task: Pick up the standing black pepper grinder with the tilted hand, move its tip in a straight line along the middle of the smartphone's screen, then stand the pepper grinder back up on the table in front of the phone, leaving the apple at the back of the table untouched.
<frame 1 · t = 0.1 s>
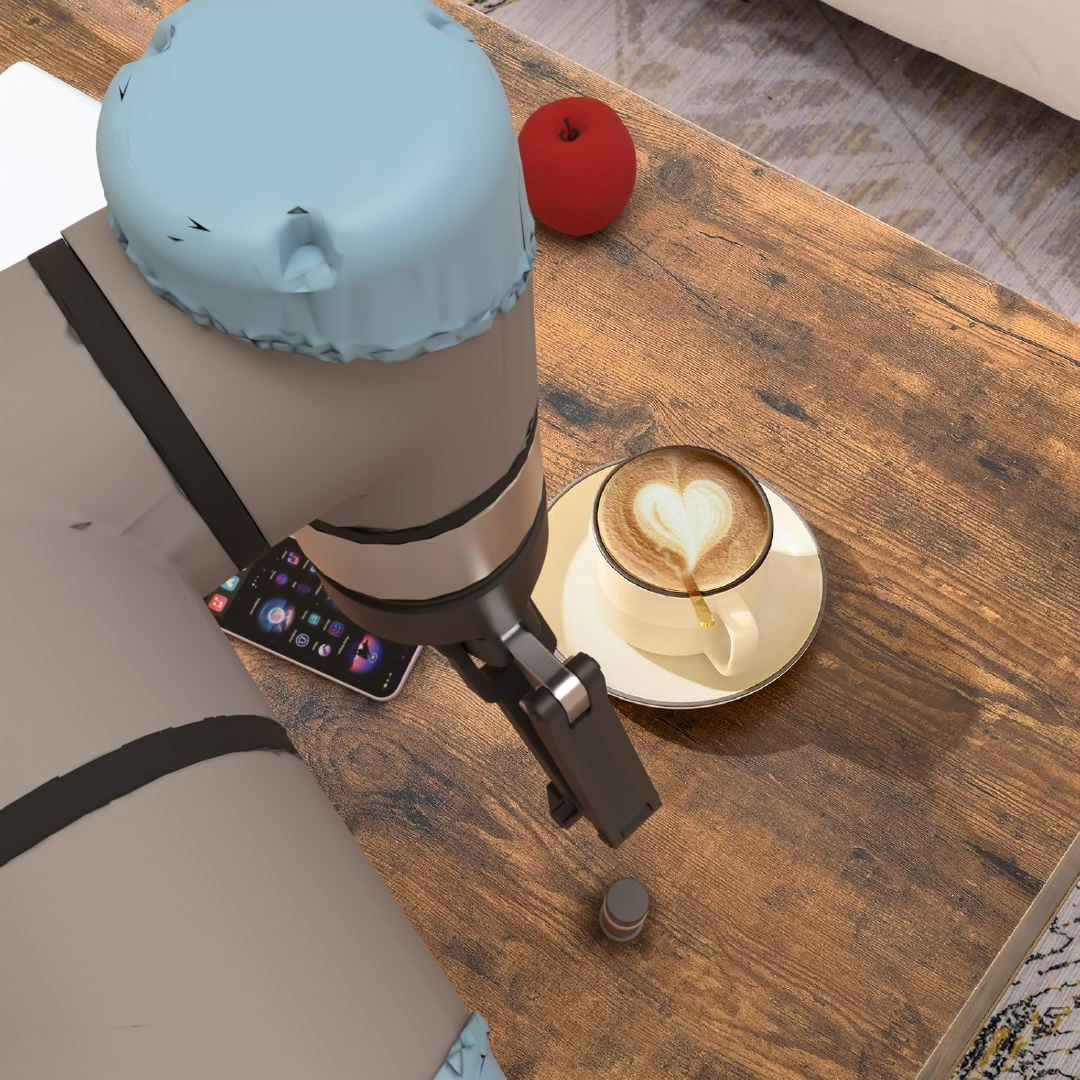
hand: (478, 692, 53), 19 cm above the table, tool pointing down, fingers open, 13 cm apart
apple: (575, 207, 87), on the table
smartphone: (316, 610, 75), on the table
pepper grinder: (621, 918, 67), on the table
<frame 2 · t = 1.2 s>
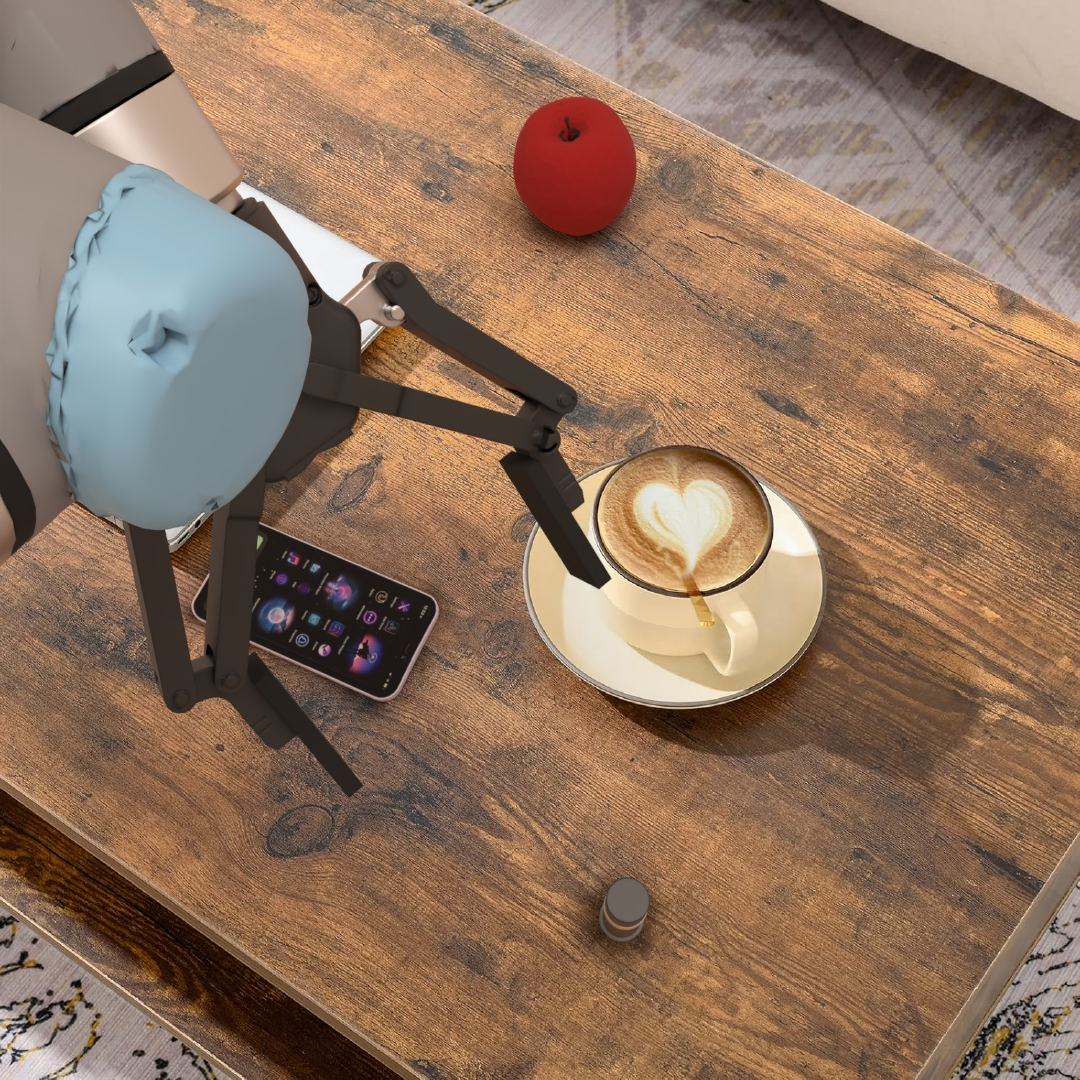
hand: (473, 675, 50), 22 cm above the table, tool tilted 45°, fingers open, 13 cm apart
nothing on the table moved.
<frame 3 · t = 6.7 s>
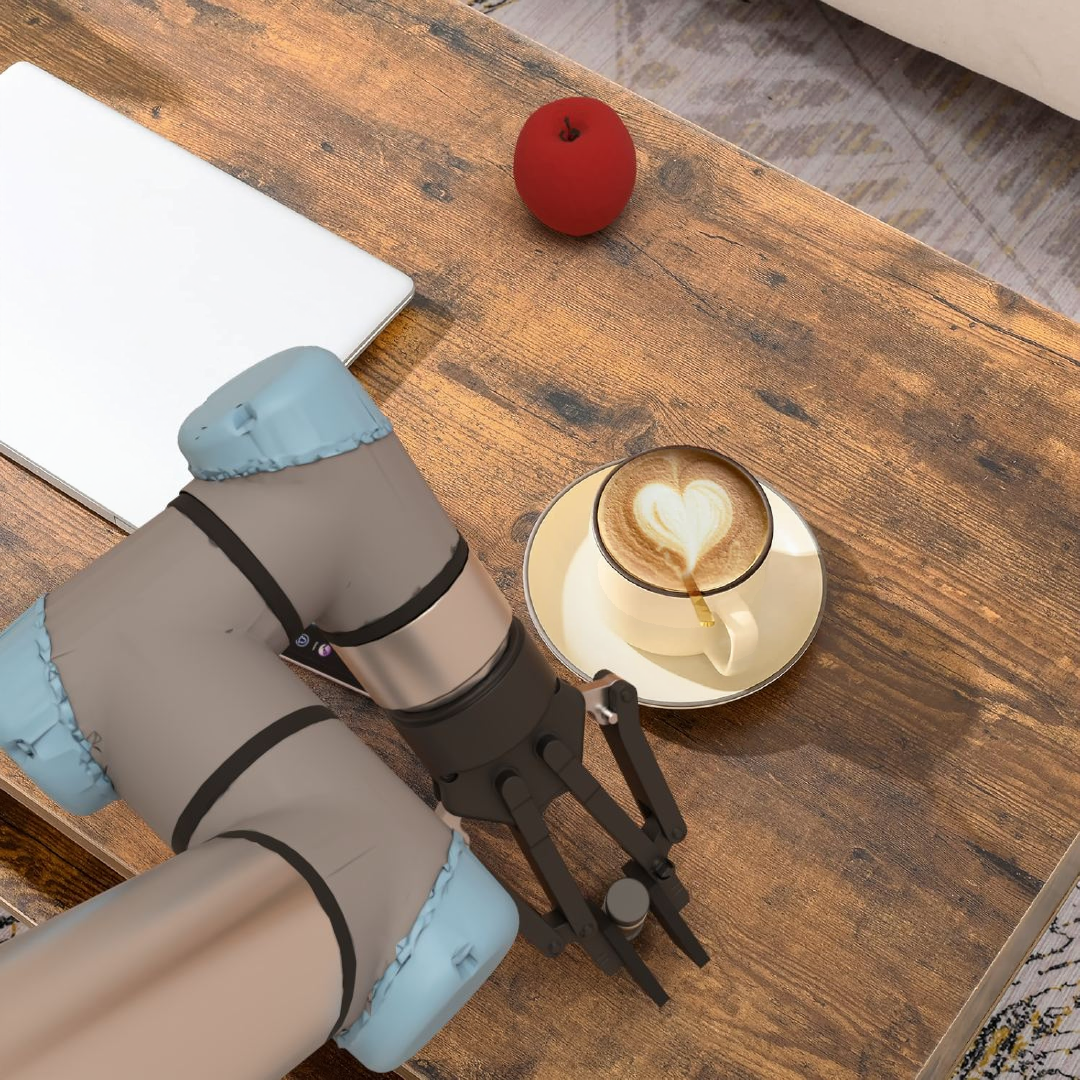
hand: (671, 969, 63), 3 cm above the table, tool tilted 45°, fingers closed on pepper grinder, 2 cm apart
pepper grinder: (621, 918, 67), on the table, touching gripper
everything else where it was.
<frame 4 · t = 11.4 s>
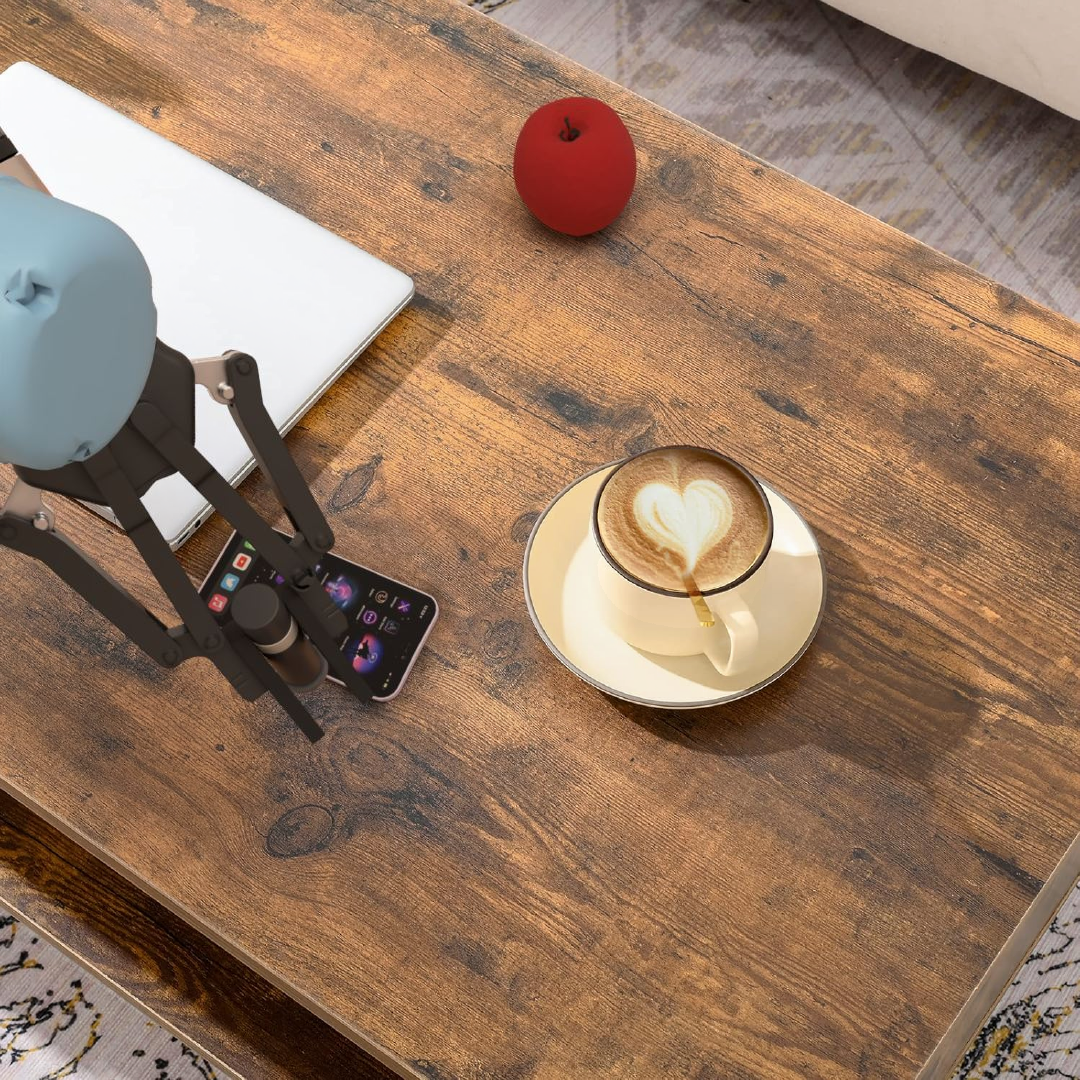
hand: (335, 709, 57), 15 cm above the table, tool tilted 45°, fingers closed on pepper grinder, 2 cm apart
pepper grinder: (303, 669, 61), point 12 cm above the table, touching gripper
everything else where it was.
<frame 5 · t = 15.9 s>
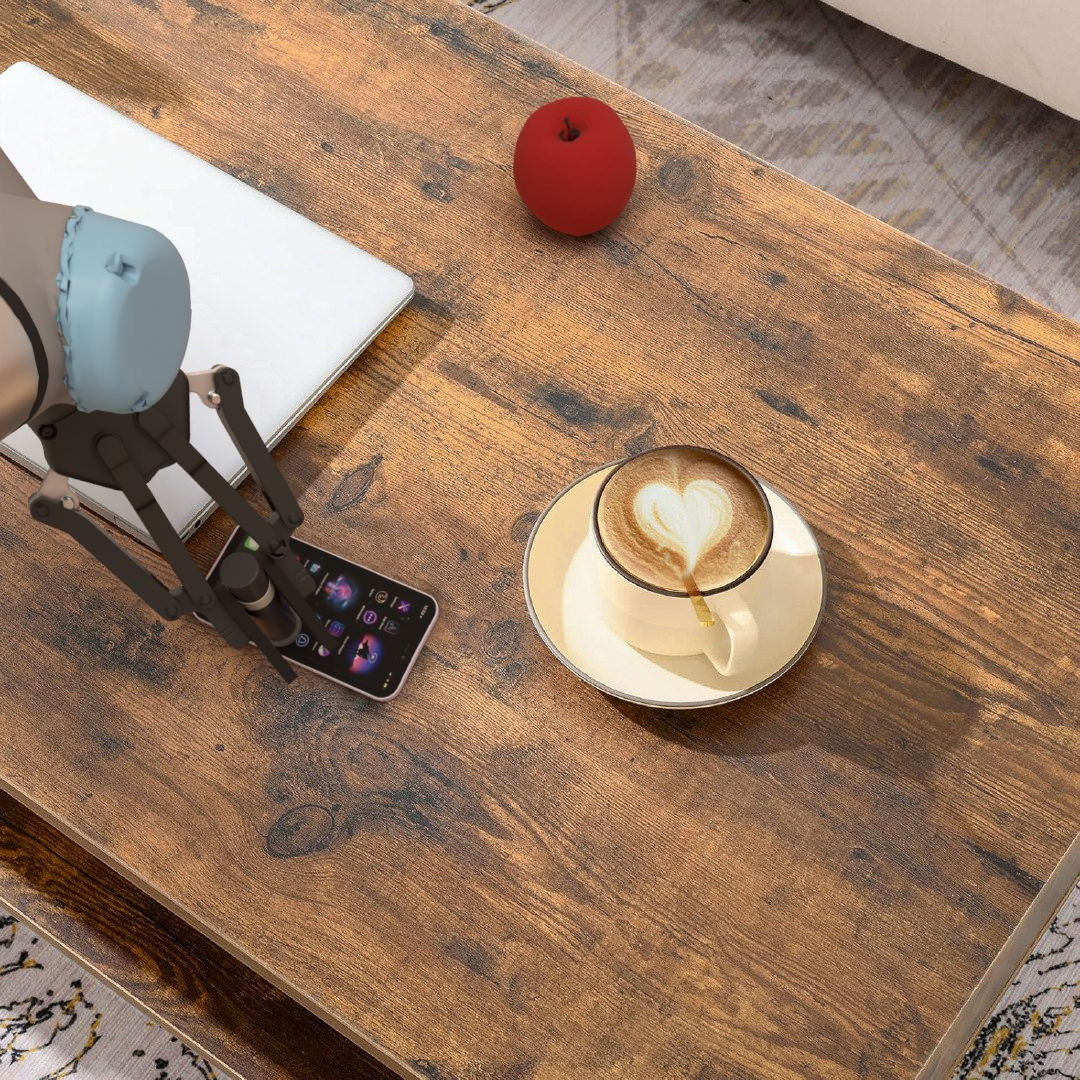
hand: (307, 657, 69), 4 cm above the table, tool tilted 45°, fingers closed on pepper grinder, 2 cm apart
pepper grinder: (281, 627, 73), point 1 cm above the table, touching gripper
everything else where it was.
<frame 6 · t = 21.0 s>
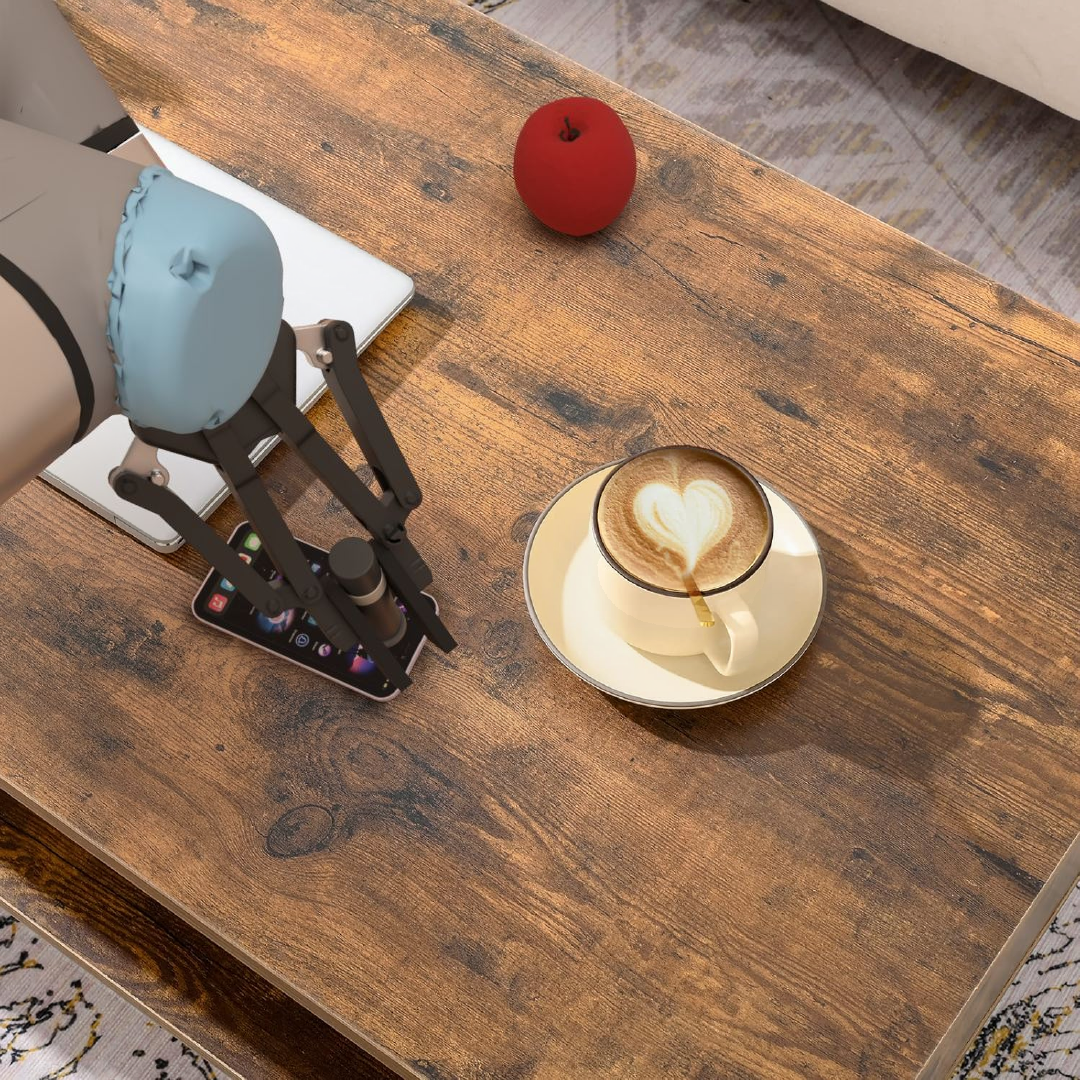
hand: (420, 660, 60), 13 cm above the table, tool tilted 45°, fingers closed on pepper grinder, 2 cm apart
pepper grinder: (383, 626, 64), point 10 cm above the table, touching gripper
everything else where it was.
when the fingers open (3 cm above the table, at t = 25.1 s): pepper grinder stays where it is, on the table.
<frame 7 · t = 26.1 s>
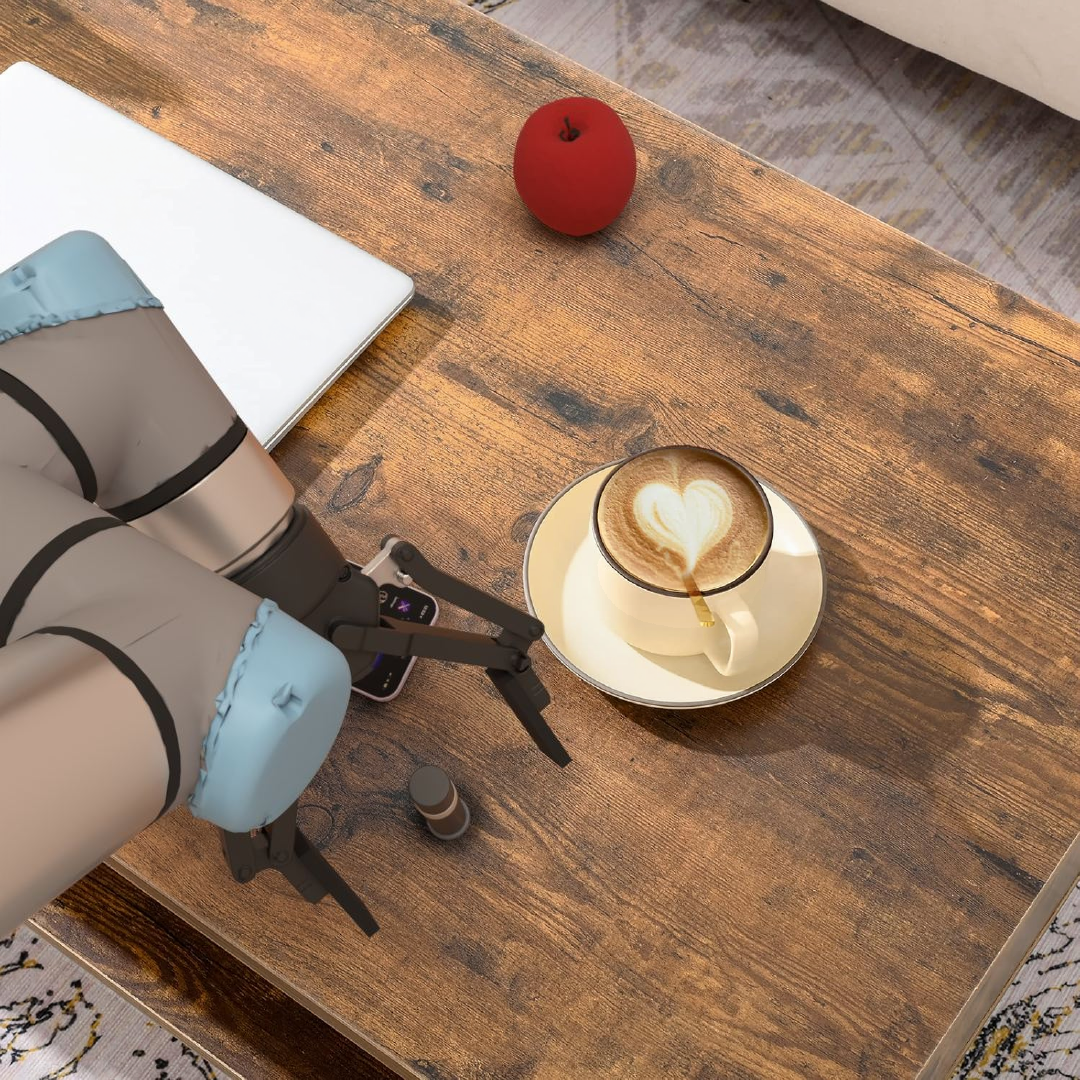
hand: (464, 836, 64), 5 cm above the table, tool tilted 45°, fingers open, 13 cm apart
pepper grinder: (448, 818, 70), on the table
everything else where it was.
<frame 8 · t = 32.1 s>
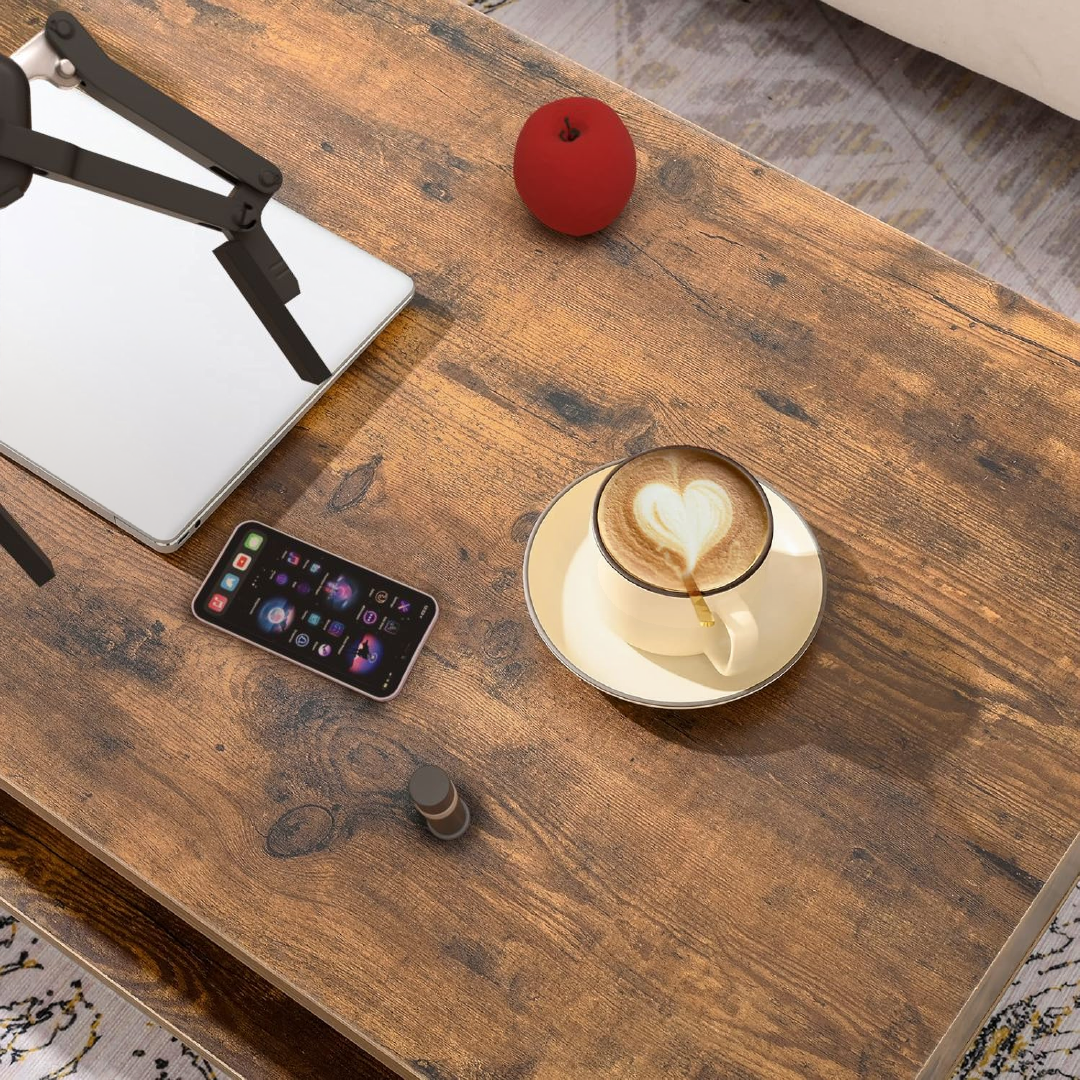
hand: (186, 473, 48), 28 cm above the table, tool tilted 45°, fingers open, 13 cm apart
nothing on the table moved.
at the end: pepper grinder inside the target area (0.1 cm from its centre), on the table; pepper grinder tilted 0°; apple moved 0.2 cm from its start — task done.
